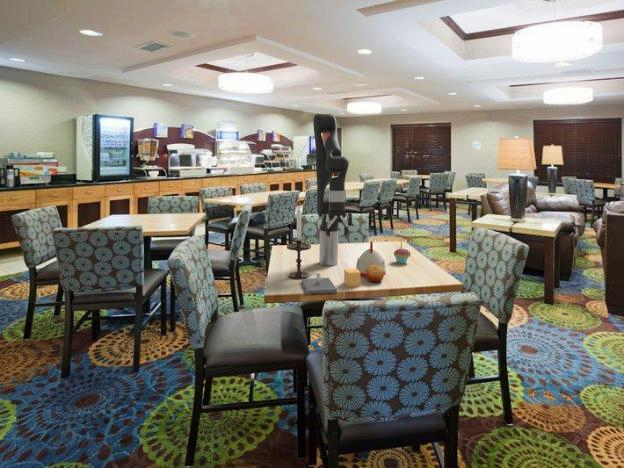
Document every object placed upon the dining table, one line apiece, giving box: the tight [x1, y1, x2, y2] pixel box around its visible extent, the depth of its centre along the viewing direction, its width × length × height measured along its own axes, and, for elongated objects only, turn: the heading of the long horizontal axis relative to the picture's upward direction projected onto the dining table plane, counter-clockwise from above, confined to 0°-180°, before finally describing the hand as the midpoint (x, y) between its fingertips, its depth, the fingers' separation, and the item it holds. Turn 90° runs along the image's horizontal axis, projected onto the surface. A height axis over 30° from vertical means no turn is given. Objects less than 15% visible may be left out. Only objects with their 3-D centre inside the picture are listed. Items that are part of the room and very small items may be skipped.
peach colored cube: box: [343, 268, 361, 287], centre depth 185 cm, size 6×6×6 cm
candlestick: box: [286, 199, 312, 280], centre depth 193 cm, size 11×11×35 cm
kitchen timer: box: [355, 241, 387, 278], centre depth 201 cm, size 14×14×15 cm
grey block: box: [301, 272, 338, 294], centre depth 181 cm, size 16×12×6 cm
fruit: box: [366, 265, 385, 283], centre depth 190 cm, size 8×8×8 cm
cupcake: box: [393, 239, 412, 264], centre depth 221 cm, size 9×8×12 cm
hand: (337, 235), depth 200 cm, fingers open, 8 cm apart
